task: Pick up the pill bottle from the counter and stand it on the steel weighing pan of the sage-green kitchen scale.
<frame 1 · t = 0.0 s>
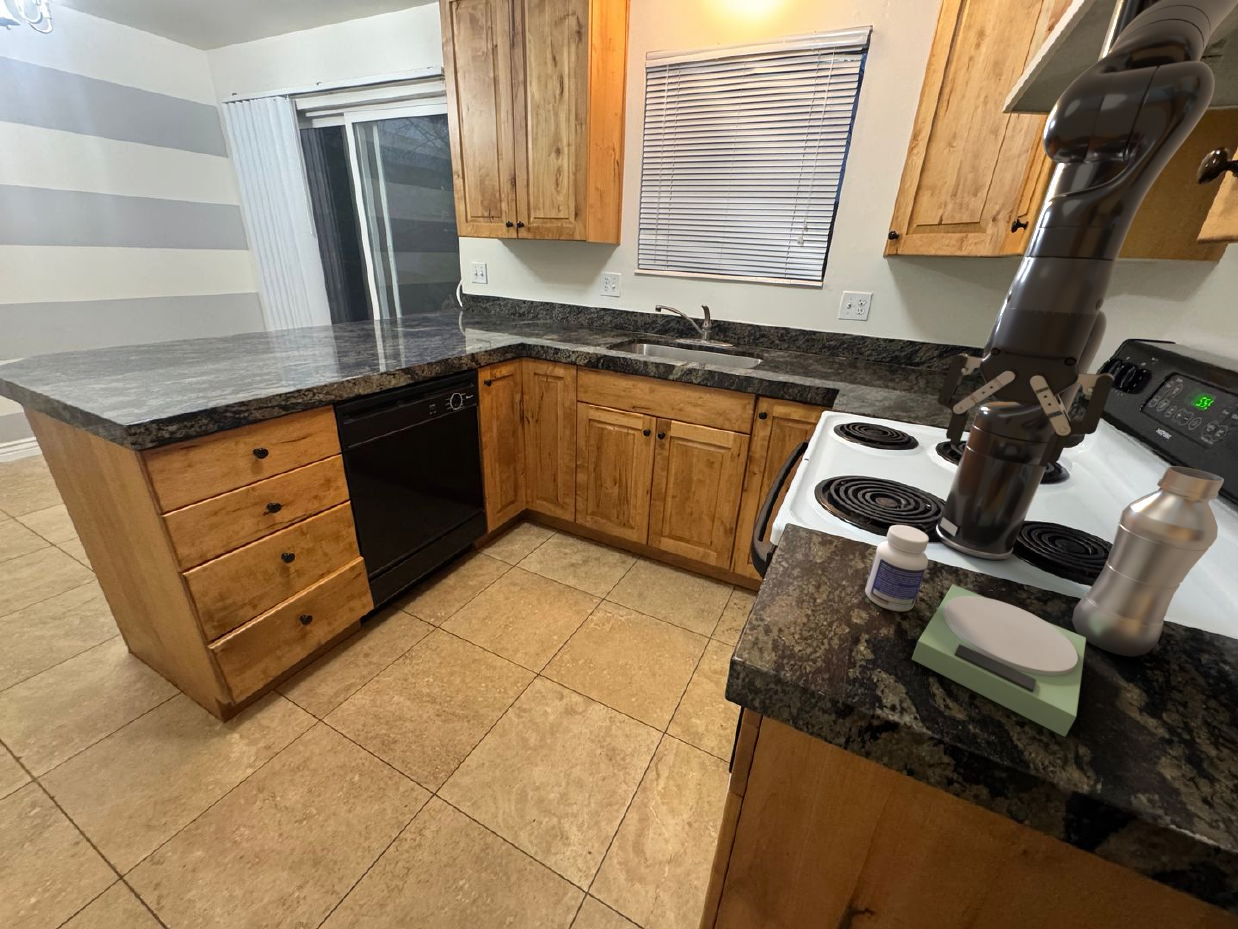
hand: (996, 453, 57), 17 cm above the worktop, tool pointing down, fingers open, 8 cm apart
pill bottle: (887, 599, 59), on the worktop
silver metal bottle: (1103, 644, 54), on the worktop
kitchen scale: (995, 657, 51), on the worktop
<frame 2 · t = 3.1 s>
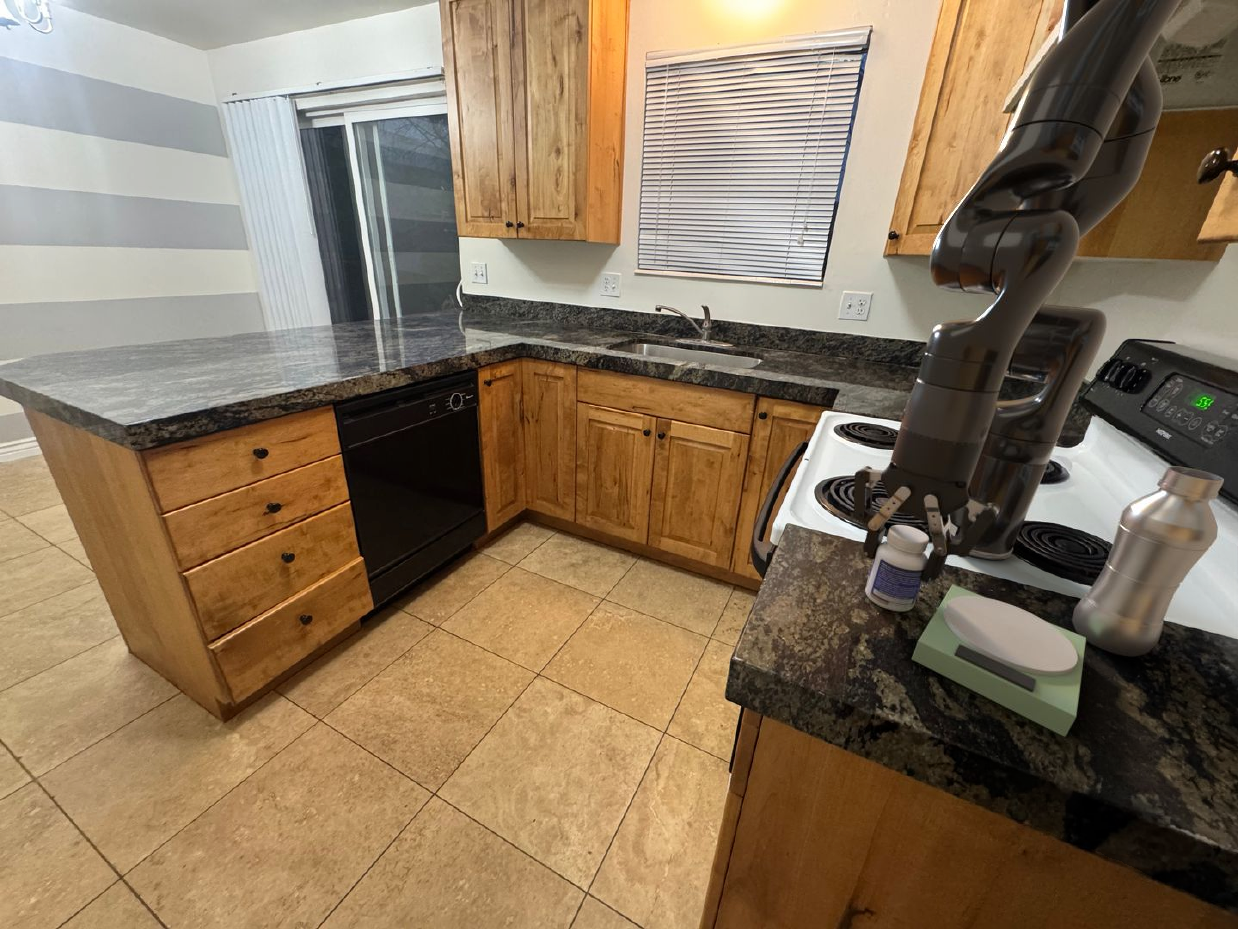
hand: (898, 566, 57), 4 cm above the worktop, tool pointing down, fingers closed on pill bottle, 5 cm apart
pill bottle: (887, 599, 59), on the worktop, touching gripper
everything else where it was.
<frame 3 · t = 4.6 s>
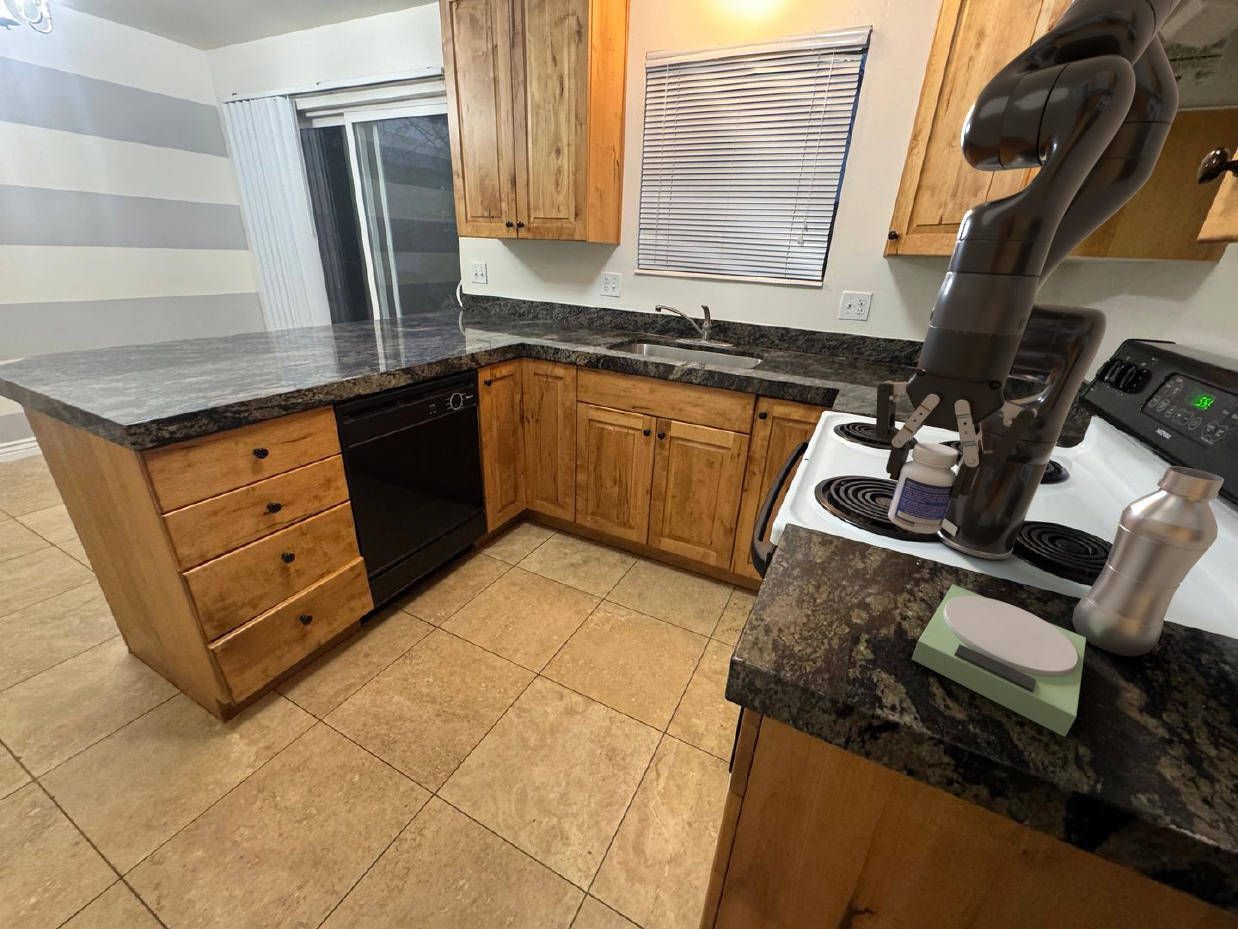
hand: (924, 486, 53), 15 cm above the worktop, tool pointing down, fingers closed on pill bottle, 5 cm apart
pill bottle: (912, 524, 55), point 10 cm above the worktop, touching gripper
everything else where it was.
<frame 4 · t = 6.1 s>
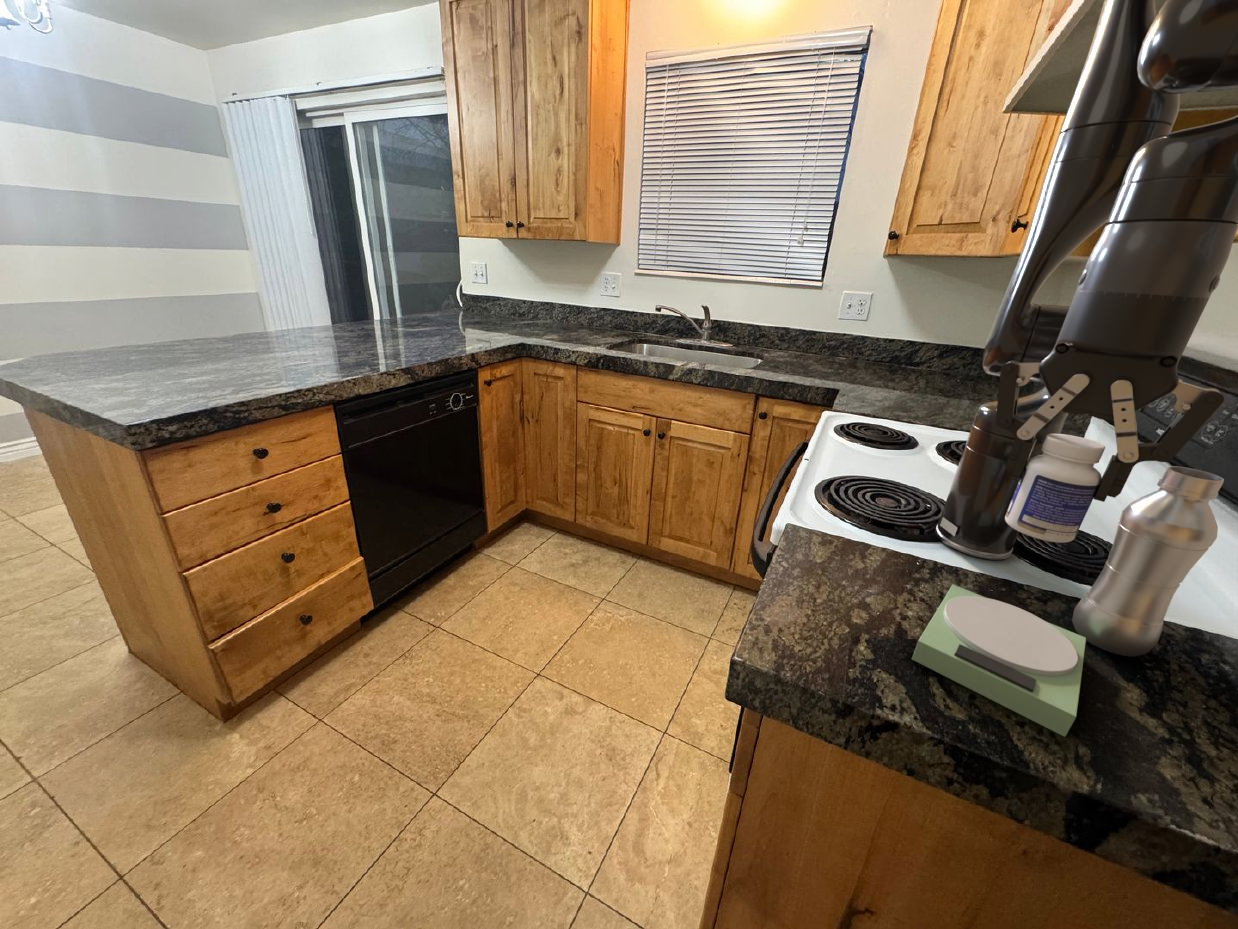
hand: (1055, 486, 45), 19 cm above the worktop, tool pointing down, fingers closed on pill bottle, 5 cm apart
pill bottle: (1036, 531, 47), point 14 cm above the worktop, touching gripper
everything else where it was.
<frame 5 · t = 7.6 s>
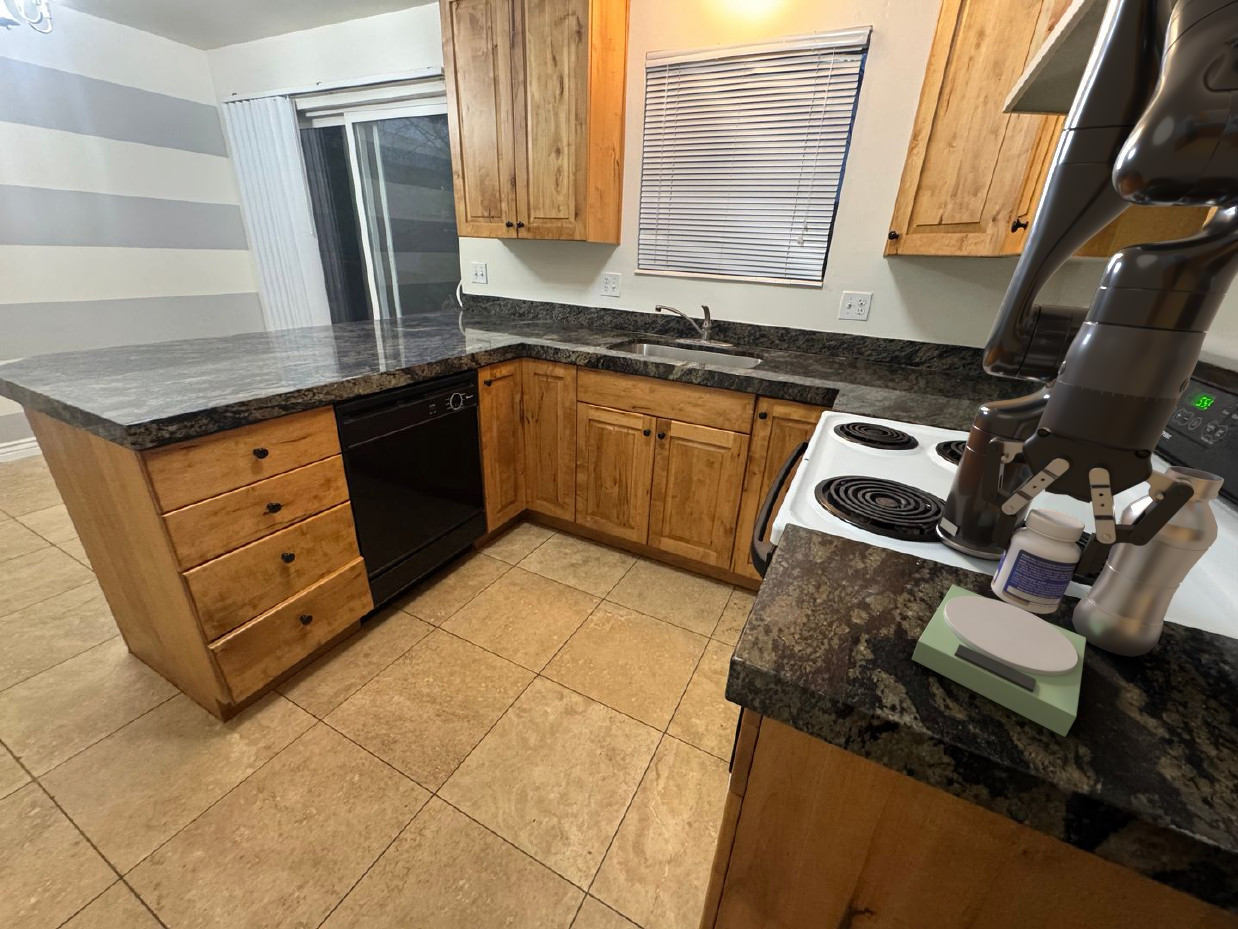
hand: (1038, 558, 47), 11 cm above the worktop, tool pointing down, fingers closed on pill bottle, 5 cm apart
pill bottle: (1021, 599, 49), point 7 cm above the worktop, touching gripper
everything else where it was.
when the fingers open (7 cm above the worktop, at t = 9.1 s): pill bottle stays where it is, resting on kitchen scale.
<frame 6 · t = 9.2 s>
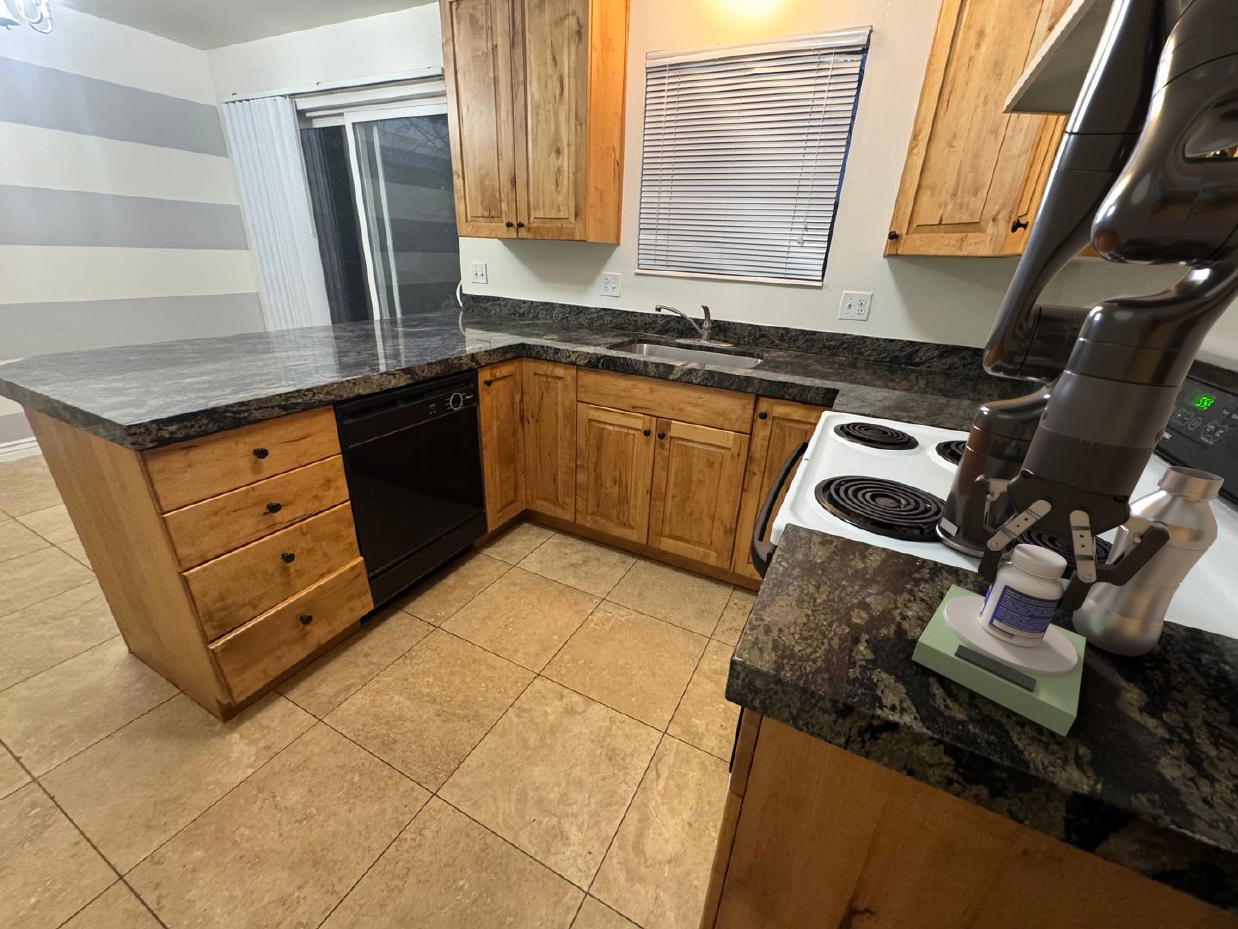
hand: (1023, 593, 48), 7 cm above the worktop, tool pointing down, fingers open, 5 cm apart
pill bottle: (1006, 631, 50), point 3 cm above the worktop, touching kitchen scale
everything else where it was.
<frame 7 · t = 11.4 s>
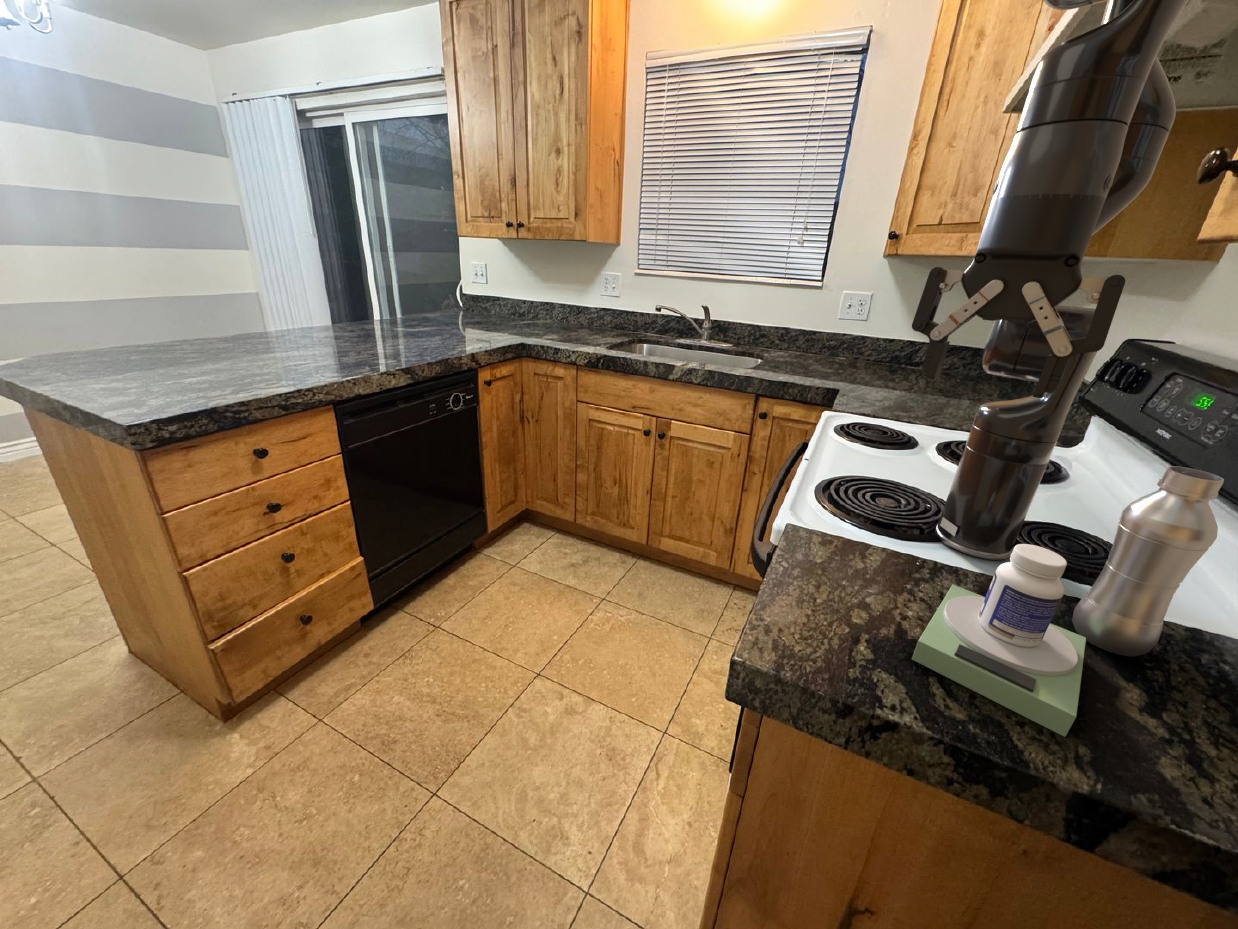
hand: (982, 387, 47), 26 cm above the worktop, tool pointing down, fingers open, 8 cm apart
nothing on the worktop moved.
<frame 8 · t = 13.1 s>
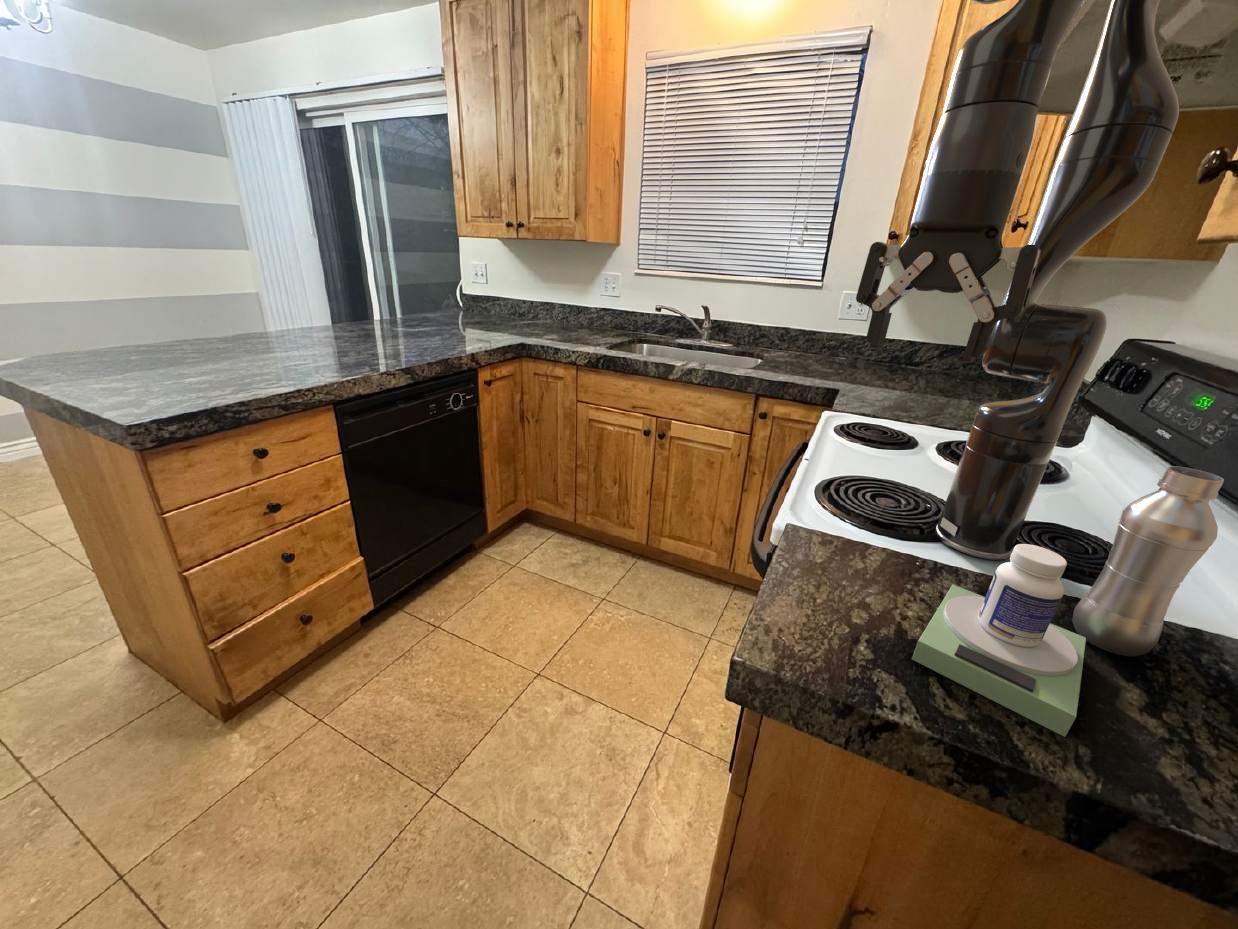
hand: (919, 354, 51), 28 cm above the worktop, tool pointing down, fingers open, 8 cm apart
nothing on the worktop moved.
at the end: pill bottle 0.0 cm from the target spot on the kitchen scale, point 2.8 cm above the kitchen scale's base; pill bottle tilted 0°; the gripper is holding nothing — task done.
